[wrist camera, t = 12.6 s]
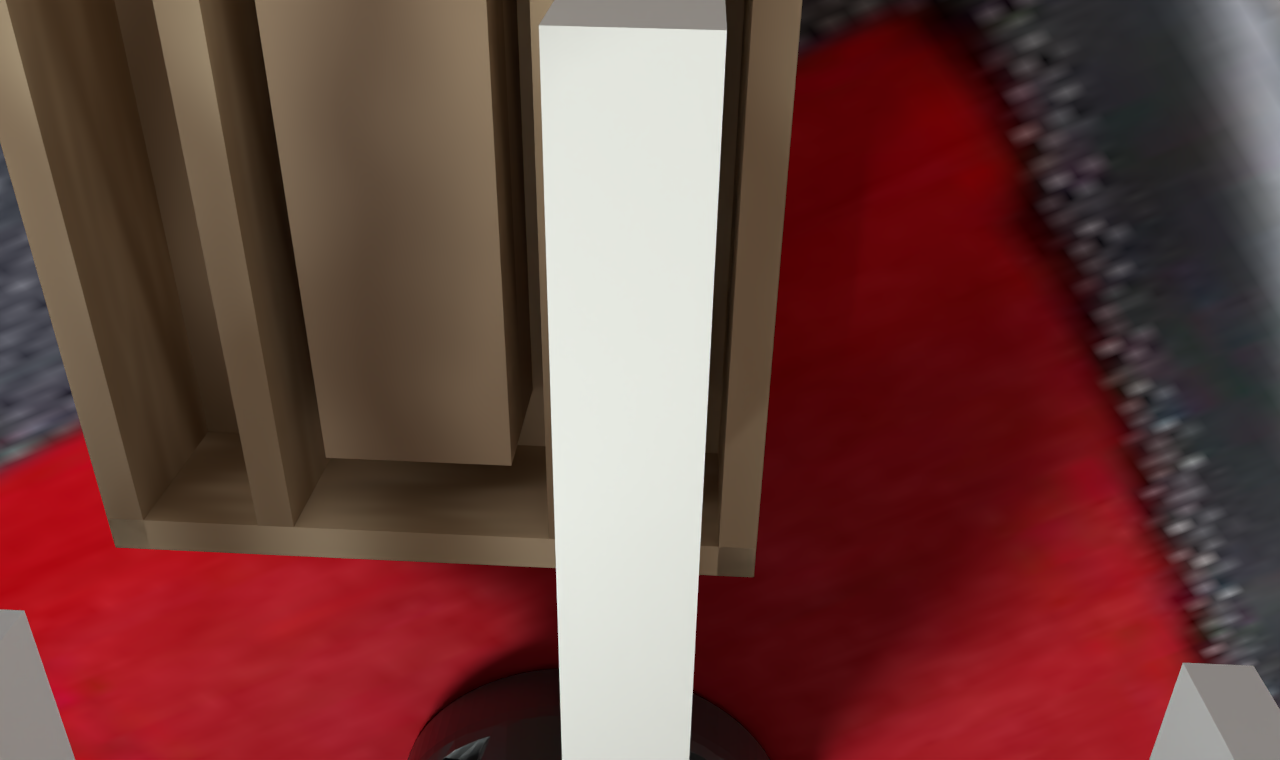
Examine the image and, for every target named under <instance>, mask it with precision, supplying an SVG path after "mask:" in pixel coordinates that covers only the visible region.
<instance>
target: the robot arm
mask: <svg viewBox="0 0 1280 760" xmlns="http://www.w3.org/2000/svg"><path fill="white" fill-rule="evenodd" d="M0 760H75V758H74V755H73V752H72V749H71V746H70V743H69V740H68V737H67V734H66V732H65V729H64V726H63V723H62V720H61V717H60V714H59V711H58V708H57V705H56V702H55V699H54V696H53V693H52V690H51V687H50V685H49V682H48V679H47V676H46V673H45V670H44V667H43V664H42V661H41V658H40V655H39V652H38V649H37V646H36V643H35V641H34V638H33V635H32V632H31V629H30V626H29V623H28V620H27V617H26V614H25V611H20V610H0ZM408 760H562V742H561V710H560V679H559V668H558V669H547V670H539V671H533V672H527V673H522V674H518V675H514V676H510V677H506V678H503V679H500V680H497V681H494V682H491V683H488V684H486V685H484V686H481V687H479V688H477V689H475V690H473V691H471V692H469V693H467V694H465V695H463V696H462V697H460V698H458V699H457V700H455V701H454V702H452V703H451V704H450V705H448V706H447V707H445V708H444V709H443V710H442V711H441V712H440V713H438V714H437V715H436V716H435V717H434V718H433V719H432V720H431V721H430V722H429V723H428V725H427V726H426V727H425V728H424V730H423V731H422V732H421V734H420V735H419V737H418V738H417V740H416V742H415V744H414V746H413V748H412V750H411V752H410V755H409V757H408ZM689 760H770V759H769V757H768V756H767V754H766V753H765V751H764V750H763V748H762V747H761V746H760V744H759V743H758V742H757V741H756V739H755V738H754V737H753V736H752V735H751V734H750V733H749V732H748V731H747V730H746V729H745V728H744V727H743V726H742V725H741V724H740V723H738V722H737V721H736V720H735V719H733V718H732V717H731V716H730V715H728V714H727V713H726V712H724V711H723V710H721V709H720V708H718V707H717V706H715V705H713V704H712V703H710V702H708V701H707V700H705V699H703V698H701V697H699V696H697V695H695V694H693V696H692V716H691V735H690V754H689ZM1150 760H1280V709H1279V707H1278V706H1277V704H1276V702H1275V701H1274V699H1273V698H1272V696H1271V694H1270V693H1269V691H1268V689H1267V688H1266V686H1265V684H1264V683H1263V681H1262V679H1261V678H1260V676H1259V674H1258V673H1257V671H1256V670H1255V668H1254V666H1243V665H1221V664H1199V663H1183V664H1182V667H1181V670H1180V673H1179V676H1178V678H1177V681H1176V684H1175V687H1174V690H1173V693H1172V696H1171V699H1170V702H1169V705H1168V707H1167V710H1166V713H1165V716H1164V719H1163V722H1162V725H1161V728H1160V731H1159V734H1158V736H1157V739H1156V742H1155V745H1154V748H1153V751H1152V754H1151V757H1150Z"/></svg>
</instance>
